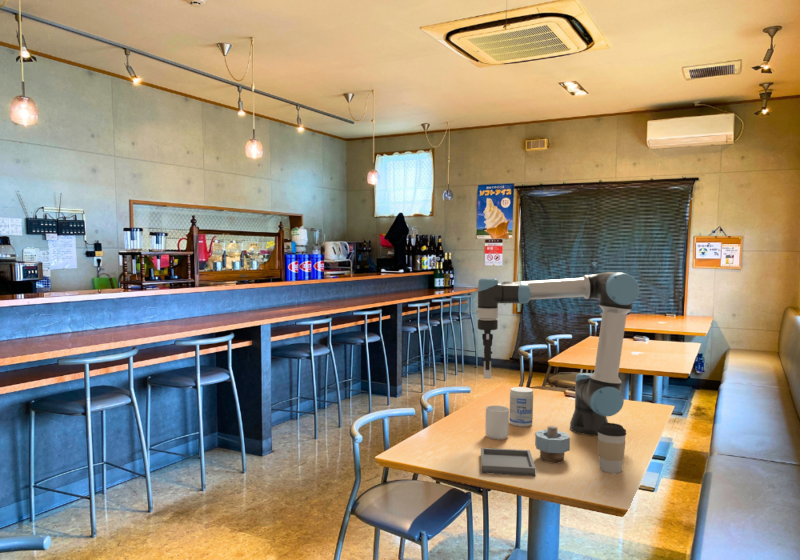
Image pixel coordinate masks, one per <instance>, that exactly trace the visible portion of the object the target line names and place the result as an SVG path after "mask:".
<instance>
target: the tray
mask: <svg viewBox="0 0 800 560" xmlns="http://www.w3.org/2000/svg"><path fill="white" fill-rule="evenodd" d="M480 465H481V466H480V467H481V474H488V473H494V474H493V475H507V474H508V475H511V476H525V477H526V476H527V477H528V476H529V477H536V465H535V462H534V459H533V457H532V452H531V450H530V449H515V448H513V449H511V448H496V447H495V448H493V447H491V448H490V447H480Z"/></svg>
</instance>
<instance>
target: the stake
mask: <svg viewBox="0 0 800 560" xmlns="http://www.w3.org/2000/svg"><path fill="white" fill-rule="evenodd" d="M546 430H547V437H554V438H557V434H558V431H559V429H558V426H554V425H548V426H547V428H546ZM539 459H540V460H541V461H543V462H544V463H545V462H546V463H549V464H550V463H551V464H561V463H563V462H564V461H565V452H564V453H547V452H544V451H541V450H539Z"/></svg>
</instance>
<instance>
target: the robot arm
mask: <svg viewBox="0 0 800 560" xmlns="http://www.w3.org/2000/svg"><path fill="white" fill-rule="evenodd" d="M477 282H478V284H477V309H476V311H475V312H476V313H477V318H478V320H477V329H478V330H480V331H483V332H484V333H481V335H482V336H481V337H482V339H481V340H482V345H483V348H484V349H483V353H484V354H483V358H481V359H482V360H481V361H482V362H483V379H487V380H488V379H490V380H491V379H492V355H493V351H492V346H493V339H494V335H493V333H491V332H492V331H496V330H498V325H499V324H498V323H499V321H498V318H499V305H498V304H519V305H522V304H528V303H529V302H530V301H531V300H545V299H546V300H547V299H566V298H568V299H569V298H584V299H585V300H599V304H598V307H600V309H601V310H602V314H601V320H600V329H599V337H598V341H597V342H598V343H597V350H596V351H597V352H596V357H595V365H594V371H593V372H591V373H589V372H586V373H585V372H580V373H577V374H576V376H575V380H574V382H575V383H574V385H575V388H574V389H575V390H574V394H575V395H574V399H575V400H574V411H573V413H572V417H571V419H570V422H569V429H570V430H571V431H573V432H574V433H577V434H580V435H581V434H582V435H586V436H598V431H597V430H598V427H599V426H601V424H603V423H609V420H608V418H607V417H612V416H614V415H617V414H618V413H619V412H620V411H621V410H622V409H623V406H624V402H625V399H624V396H623V394H622V391H621V388H622V380H621V379H620V377H619V372H620V364H621V356H622V349H623V342H624V335H625V329H626V321H627V315H628V313H630V312H632V310H633V305H634V304H633V303H634V302H635V301H636V300H637V298H638V297H639V294H640V286H639V283H638V281H637V280H636V278H634V277H633V275H631V274H629V273H625V272H621V271H620V272H618V271H617V272H614V271H606V272H600V273H595V274H585V275H582V276H581V277H575V278H560V279H558V278H556V279H555V278H554V279H540V280H539V279H538V280H524V281H523V280H522V281H521V280H519V281H503V282H500V283H499V279H497V278H487V277H486V278H480V279H478V281H477Z"/></svg>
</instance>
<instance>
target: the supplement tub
mask: <svg viewBox="0 0 800 560" xmlns="http://www.w3.org/2000/svg"><path fill="white" fill-rule="evenodd" d="M533 416H534V390H533V389H532V388H529V387H525V386H519V387H518V386H516V387H511V388H510V391H509V424H511V425H512V426H514V427H521V428H524V427H526V428H527V427H530V426H532V425H533V421H534V420H533V419H534V418H533Z"/></svg>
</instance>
